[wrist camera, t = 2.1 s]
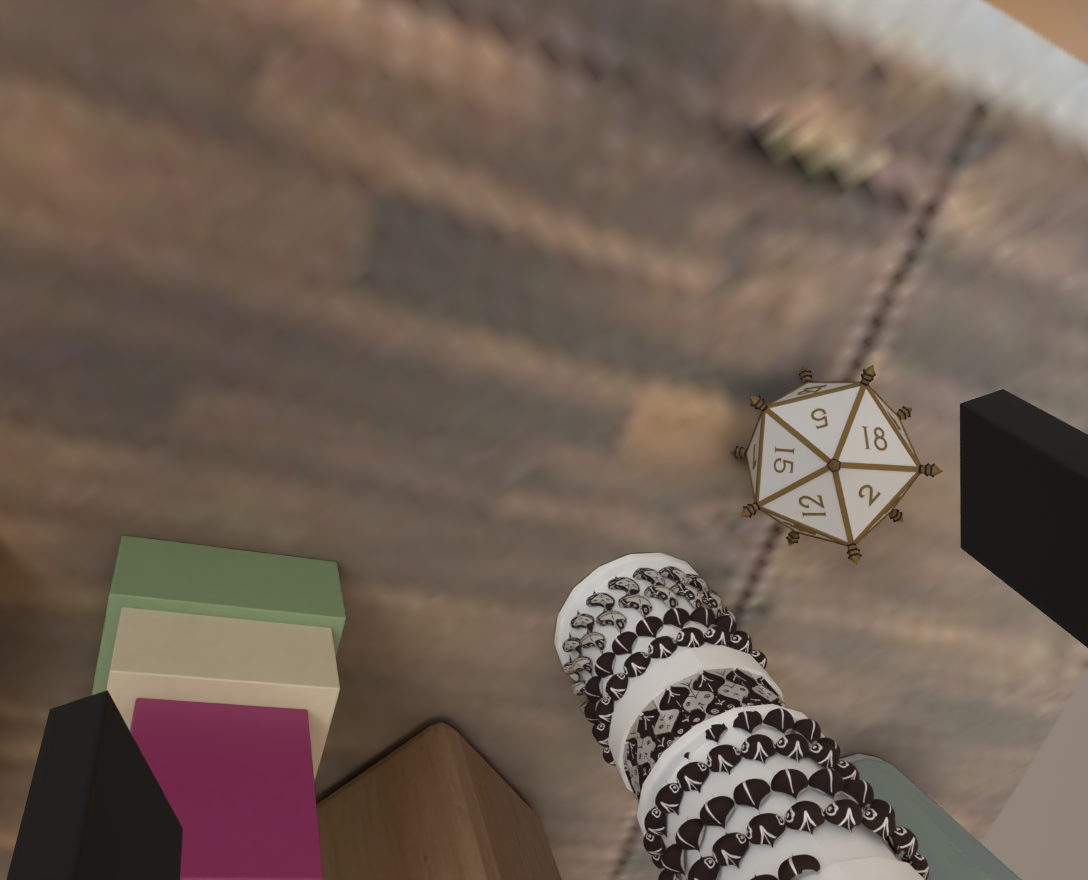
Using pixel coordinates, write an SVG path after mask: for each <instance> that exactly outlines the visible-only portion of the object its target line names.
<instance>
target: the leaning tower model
mask: <svg viewBox="0 0 1088 880" xmlns="http://www.w3.org/2000/svg"><path fill="white" fill-rule="evenodd" d="M554 645H555V648H556V650H557V653H558V656H559V659H560V662H561V664H562V667H563V672H564V673H565V674H567V675H569V676H570V677H572V678H573V679H574V680H575V681H576V682H575V683H573V685H572V686H571V691H572V692H573V693H574V694H575V695H582V694H585V695H586V696H587V697H588V698H587V701H586V702H584V703H583V704H582V705H581V707H580V710H581V712H582V713H583V714H585V716H586V718H587V719H588V721H590V722H591V723H594V726H593V730H592V733H593V736H594V737H595V738H596V740H597V742H598V743H599V744H600V745H601V746H604V747H605V748H604V750H603V758H604V760H605V761H606V762H607V763H609V764H611V765H614V766H616V767H617V769H618V771H619V773H620V775H621V777H622V779H623V781H624V783H625V786H626V788H628V789H629V790H630V791H631V792H632V793H634V795H635V797H636V799H637V801H638V803H639V806H638V811H637V819H638V822H639V825H640V828H641V831H642V834H643V837H644V840H643V843H644V847H645V849H646V851H647V852H648V853H649V854H651V855H652V861H653V863H654V864H655V866H657V867H658V868H659V869H662V870H663V871H662V872H661V873H660V875H659V879H658V880H676V877H678V878H679V879H680V880H927V879H928V876H929V865H928V862H927V860H926V859H925V857H924V856H923V855H921V854H920V853H918V852H917V850H918V841H917V838H916V836H915V835H914V834H913V833H912V832H911V831H910V830H909V829H907V828H905V827H902V826H896V822H895V812H894V809H893V808H892V806H891V805H890V804H889V803H888V802H886V801H884V800H881V799H874V791H873V788H872V787H871V785H870V784H869V783H868V782H866V781H864V780H859V779H860V776H859V772H858V770H857V768H856V767H855V766H854V765H853V764H852V763H850V762H848V761H845V760H839V756H840V748H839V746H838V744H837V743H836V742H835V741H833V740H832V739H829V738H825V736H824V735H823V734H822V733H821V730H820V727H819V725H818V723H817V722H816V721H814V720H811V719H808V718H807V717H806V716H805V715H804V714H803V713H801V712H798V711H794V710H791V709H790V708H789V707H788V706H787V705H786V704H785V703H784V700H783V695H782V691H781V690H780V688H779V687H778V686H777V685H776V683H775V682H774V681H773V679H772V678H771V677H770V675H769V674H768V673H767V672H766V671H765V670H764V669H765V667H766V664H767V658H766V656H765V655H764V654H763V653H762V652H760V651H757V650H752V643H751V638H750V636H749V635H748V634H747V633H745V632H743V631H736V621H735V616H734V614H733V613H732V612H731V611H730V610H729V609H728V608H726V607H724V606H722V605H721V599H720V597H719V595H718V594H717V593H716V592H714V591H713V590H711V589H708V587H707V584H706V582H705V581H704V579H703V578H702V577H700V576H699V575H698V574H697V573H696V572H695V571H694V569H693V568H692V567H691V566H690V565H689V564H688V563H687V562H685V561H683V560H680V559H677V558H674V557H672V556H669V555H666V554H663V553H641V554H629V555H626V556H624V557H621V558H619V559H617V560H614V561H612V562H609V563H607V564H604V565H602V566H600V567H598V568H597V569H596V570H594V571H593V572H592V573H591V574H590V575H589V576H587V577H586V578H585V579H584V580H583V581H582V582H580V583H579V584H578V585H577V586H576V587H575V588H573V590H572V592H571V593H570V595H569V597H568V599H567V600H566V602H565V604H564V606H563V607H562V609H561V611H560V612H559V614H558V617H557V624H556V632H555V640H554ZM868 807H869V808H870V809H868ZM867 809H868V810H867ZM902 850H903V851H904V852H905V853H904V855H903V858H901V857H900V856H899V854H900V853H901V851H902ZM897 856H899V857H900V858H901V859H902V861H903V862H902V861H900V860H899V858H898V857H897Z"/></svg>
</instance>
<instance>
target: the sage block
mask: <svg viewBox="0 0 1088 880" xmlns="http://www.w3.org/2000/svg"><path fill="white" fill-rule="evenodd" d="M122 607H127V608H137V609H147V610H157V611H167V612H177V613H187V614H197V615H207V616H217V617H227V618H237V619H247V620H257V621H267V622H277V623H287V624H297V625H307V626H317V627H327V628H331V629H332V635H333V642H334V649H335V656H336V655H337V651H338V647H339V644H340V640H341V636H342V633H343V629H344V625H345V622H346V614H345V608H344V602H343V596H342V590H341V584H340V578H339V572H338V567H337V562H333V561H325V560H316V559H308V558H300V557H292V556H284V555H276V554H268V553H260V552H252V551H244V550H236V549H228V548H220V547H212V546H204V545H196V544H188V543H180V542H172V541H164V540H156V539H148V538H140V537H132V536H124V535H123V536H122V537H121V541H120V546H119V550H118V555H117V560H116V565H115V570H114V574H113V579H112V584H111V589H110V594H109V599H108V605H107V610H106V616H105V622H104V627H103V633H102V639H101V644H100V650H99V656H98V661H97V667H96V672H95V678H94V684H93V689H92V695H95V694H97V693H100V692H103V691H106V689H107V683H108V678H109V672H110V667H111V661H112V656H113V651H114V645H115V640H116V634H117V629H118V624H119V618H120V613H121V608H122ZM92 695H91V696H92Z"/></svg>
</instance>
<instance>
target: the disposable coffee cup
mask: <svg viewBox="0 0 1088 880" xmlns="http://www.w3.org/2000/svg"><path fill="white" fill-rule="evenodd" d="M839 760H845V761H848V762H850V763H852V764H853V765H854V766H855V767H856V768H857V770H858V772H859V776H860V779H859V780H864V781H866V782H868V783H869V784H870V785H871V787H872V788H873V791H874V799H881V800H884V801H886V802H888V803H889V804H890V805H891V806H892V808H893V809H894V812H895V822H896V826H902V827H905V828H907V829H909V830H910V831H911V832H912V833H913V834H914V835H915V836H916V838H917V841H918V850H917V852H918V853H920V854H921V855H923V856H924V857H925V859H926V860H927V862H928V865H929V876H928V879H927V880H1021V879H1020V878H1019V877H1018V876H1017V875H1016V874H1015V873H1014V872H1013V871H1011V870H1010V869H1009V868H1008V867H1007V866H1006V865H1005V864H1003V863H1002V862H1001V861H1000V860H999V859H998V858H997V857H996V856H994V855H993V854H992V853H991V852H990V851H989V850H988V849H986V848H985V847H984V846H983V845H982V844H981V843H980V842H979V841H978V840H976V839H975V838H974V837H973V836H972V835H971V834H970V833H969V832H967V831H966V830H965V829H964V828H963V827H962V826H961V825H960V824H958V823H957V822H956V821H955V820H954V819H953V818H952V817H951V816H949V815H948V814H947V813H946V812H945V811H944V810H943V809H942V808H940V807H939V806H938V805H937V804H936V803H935V802H934V801H933V800H931V799H930V798H929V797H928V796H927V795H926V794H925V793H923V792H922V791H921V790H920V789H919V788H918V787H917V786H916V785H914V784H913V783H912V782H911V781H910V780H909V779H908V778H907V777H905V776H904V775H903V774H902V773H901V772H900V771H899V770H898V769H896V768H895V767H894V766H893V765H892V764H891V763H889V762H884V761H882V760H881V759H880V758H878V757H873V756H868V755H863V754H855V755H852V756H848V757H845V758H841V759H839ZM868 809H870V808H869V807H868ZM868 809H867V810H868ZM904 853H905V852H904V851H903V850H902V851H901V853H900V854H899V856H900V857H901V858H903V855H904ZM899 856H897V857H898V858H899V860H900V861H902V859H901V858H900V857H899ZM902 862H903V861H902Z"/></svg>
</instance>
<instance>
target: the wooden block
mask: <svg viewBox="0 0 1088 880" xmlns="http://www.w3.org/2000/svg"><path fill="white" fill-rule="evenodd" d="M317 815H318V825H319V836H320V846H321V857H322V867H323V878H324V880H561V877H560V874H559V871H558V868H557V866H556V863H555V860H554V857H553V855H552V852H551V849H550V846H549V844H548V841H547V838H546V835H545V832H544V830H543V827H542V824H541V821H540V819H539V817H538V816H537V815H536V814H535V812H534V811H533V810H532V809H531V808H530V807H529V806H528V805H527V804H526V803H525V802H524V801H523V800H522V799H521V798H520V797H519V796H518V795H517V794H516V793H515V792H514V790H513V789H512V788H511V787H510V786H509V785H508V784H507V783H506V782H505V781H504V780H503V779H502V778H501V777H500V776H499V775H498V774H497V773H496V772H495V771H494V770H493V769H492V767H491V766H490V765H489V764H488V763H487V762H486V761H485V760H484V759H483V758H482V757H481V756H480V755H479V754H478V753H477V752H476V751H475V750H474V749H473V748H472V747H471V745H470V744H469V743H468V742H467V741H466V740H465V739H464V738H463V737H462V736H461V735H460V734H459V733H458V732H457V731H456V730H455V729H453V728H452V727H451V726H449V725H447V724H445V723H442V722H441V723H438V724H434V725H431V726H429V727H428V728H426V729H425V730H423V731H422V732H421V733H419V734H418V735H416V736H415V737H413V738H412V739H410V740H409V741H408V742H406V743H405V744H403V745H402V746H400V747H399V748H397V749H396V750H394V751H393V752H392V753H390V754H389V755H387V756H386V757H384V758H383V759H381V760H380V761H379V762H377V763H376V764H374V765H373V766H371V767H370V768H368V769H367V770H366V771H364V772H363V773H361V774H360V775H358V776H357V777H355V778H354V779H353V780H351V781H350V782H348V783H347V784H345V785H344V786H342V787H341V788H339V789H338V790H337V791H335V792H334V793H332V794H331V795H329V796H328V797H326V798H325V799H324V800H322V801H321V802H319V803H318V804H317Z"/></svg>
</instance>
